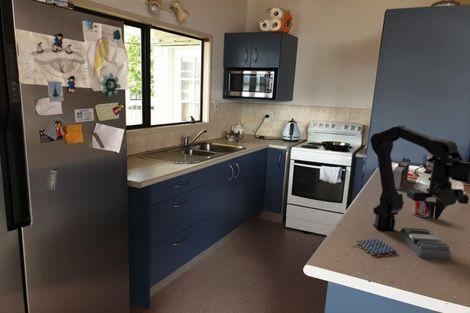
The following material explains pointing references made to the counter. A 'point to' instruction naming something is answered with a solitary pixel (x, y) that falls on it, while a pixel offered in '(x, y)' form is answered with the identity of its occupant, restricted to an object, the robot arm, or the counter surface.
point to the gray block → (425, 238)
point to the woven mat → (376, 248)
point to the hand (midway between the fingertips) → (433, 219)
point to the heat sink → (424, 244)
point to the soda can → (420, 207)
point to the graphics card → (401, 173)
